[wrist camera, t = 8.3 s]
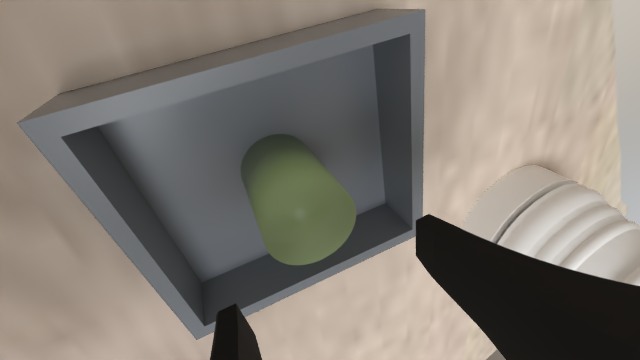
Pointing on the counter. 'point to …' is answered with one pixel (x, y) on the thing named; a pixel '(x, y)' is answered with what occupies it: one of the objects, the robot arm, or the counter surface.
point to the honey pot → (557, 224)
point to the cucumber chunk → (295, 201)
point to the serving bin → (232, 144)
